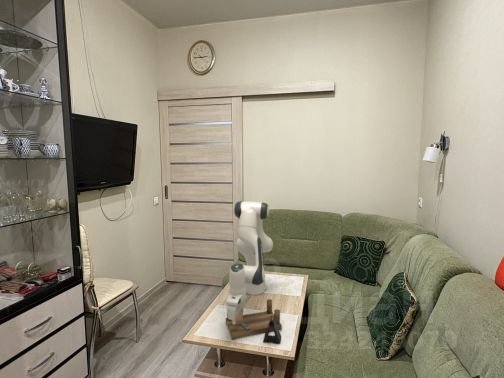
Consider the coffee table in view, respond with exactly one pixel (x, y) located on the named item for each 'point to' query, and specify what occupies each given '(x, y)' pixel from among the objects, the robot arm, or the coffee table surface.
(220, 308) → the coffee table surface
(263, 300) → the coffee table surface
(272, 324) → the phone stand
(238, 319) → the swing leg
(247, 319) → the stool base
